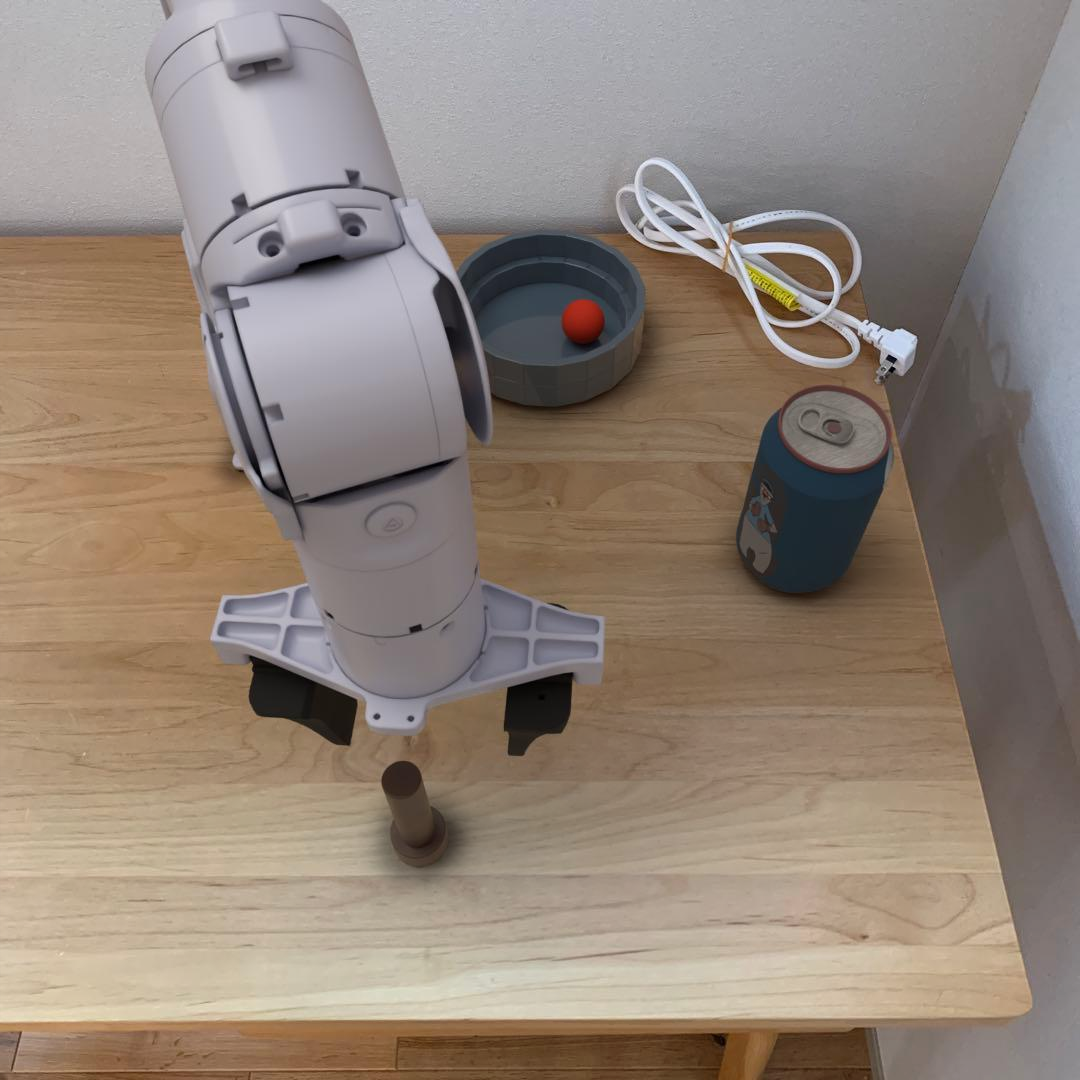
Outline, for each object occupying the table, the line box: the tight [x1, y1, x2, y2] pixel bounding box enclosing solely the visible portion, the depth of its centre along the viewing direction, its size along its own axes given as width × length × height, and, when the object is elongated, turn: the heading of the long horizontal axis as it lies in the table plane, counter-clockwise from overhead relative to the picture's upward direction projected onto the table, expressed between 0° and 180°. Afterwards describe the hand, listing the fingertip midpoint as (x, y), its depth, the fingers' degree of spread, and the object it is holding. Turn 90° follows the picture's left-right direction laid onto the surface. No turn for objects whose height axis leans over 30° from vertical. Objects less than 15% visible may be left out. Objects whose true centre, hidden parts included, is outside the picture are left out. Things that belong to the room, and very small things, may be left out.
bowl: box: [456, 228, 646, 407], centre depth 71 cm, size 13×13×4 cm
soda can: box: [735, 384, 895, 594], centre depth 57 cm, size 7×7×12 cm
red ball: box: [561, 299, 605, 344], centre depth 71 cm, size 3×3×3 cm
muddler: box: [380, 760, 449, 868], centre depth 49 cm, size 3×3×8 cm
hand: (432, 729), depth 45 cm, fingers open, 7 cm apart
